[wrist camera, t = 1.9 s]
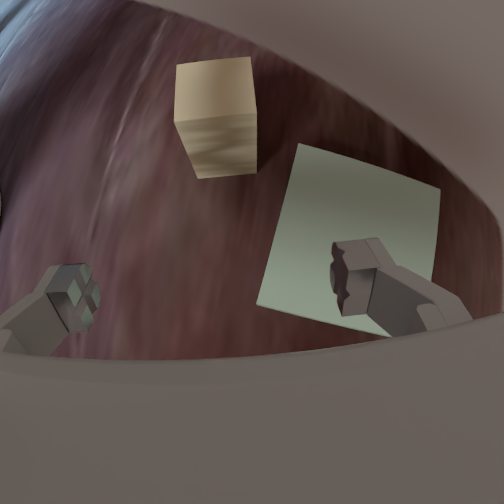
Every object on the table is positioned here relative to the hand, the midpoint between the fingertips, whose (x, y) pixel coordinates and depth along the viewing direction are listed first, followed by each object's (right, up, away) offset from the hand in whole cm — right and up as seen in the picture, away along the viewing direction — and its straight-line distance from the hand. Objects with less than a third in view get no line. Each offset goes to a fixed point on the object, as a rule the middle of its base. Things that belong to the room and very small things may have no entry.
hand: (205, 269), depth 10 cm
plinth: (+9, +1, +15) cm, 18 cm away
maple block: (-1, +9, +17) cm, 19 cm away
